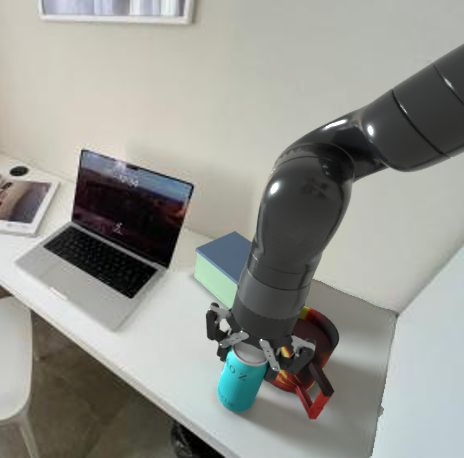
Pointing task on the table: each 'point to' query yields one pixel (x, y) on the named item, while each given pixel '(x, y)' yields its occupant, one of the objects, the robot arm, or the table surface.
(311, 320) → the mug
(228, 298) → the storage box
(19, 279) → the table surface
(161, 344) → the table surface
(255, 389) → the beverage can
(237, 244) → the box lid
